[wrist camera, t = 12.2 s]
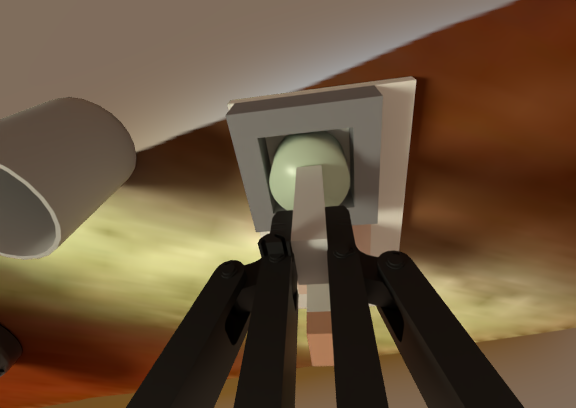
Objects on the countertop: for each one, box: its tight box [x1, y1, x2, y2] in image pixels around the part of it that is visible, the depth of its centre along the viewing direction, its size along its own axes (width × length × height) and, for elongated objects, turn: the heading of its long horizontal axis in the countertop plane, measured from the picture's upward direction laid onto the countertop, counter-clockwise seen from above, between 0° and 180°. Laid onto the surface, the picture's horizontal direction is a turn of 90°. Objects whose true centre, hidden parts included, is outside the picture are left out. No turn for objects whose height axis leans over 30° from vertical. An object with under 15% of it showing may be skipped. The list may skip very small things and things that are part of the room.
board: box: [226, 76, 416, 309], centre depth 24 cm, size 12×22×4 cm, turn 8°
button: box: [269, 131, 350, 210], centre depth 19 cm, size 5×5×3 cm
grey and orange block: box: [307, 284, 334, 366], centre depth 21 cm, size 4×4×10 cm
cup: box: [0, 97, 136, 259], centre depth 19 cm, size 7×10×9 cm
